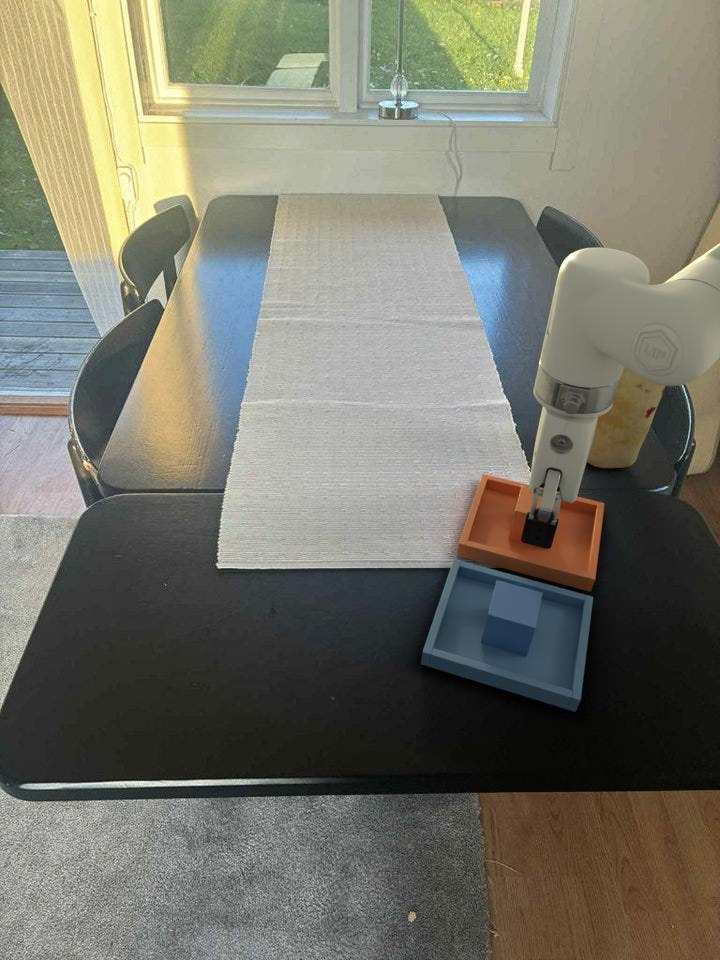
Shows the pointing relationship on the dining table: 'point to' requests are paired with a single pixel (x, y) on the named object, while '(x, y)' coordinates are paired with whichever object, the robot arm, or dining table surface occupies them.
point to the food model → (625, 422)
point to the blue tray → (538, 675)
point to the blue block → (512, 618)
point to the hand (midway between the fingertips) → (542, 514)
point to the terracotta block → (522, 513)
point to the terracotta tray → (561, 563)
